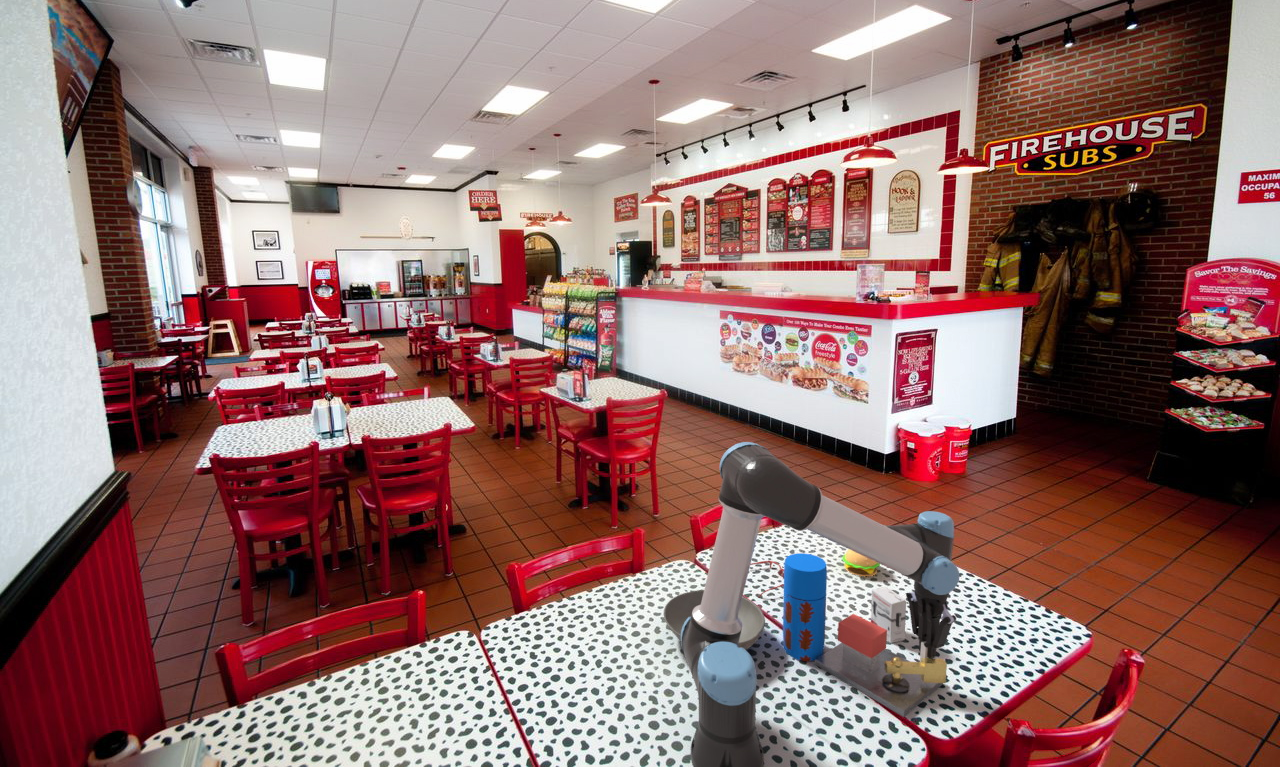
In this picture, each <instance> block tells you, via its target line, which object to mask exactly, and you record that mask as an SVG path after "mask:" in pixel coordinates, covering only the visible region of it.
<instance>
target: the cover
mask: <svg viewBox="0 0 1280 767" xmlns="http://www.w3.org/2000/svg"><path fill="white" fill-rule="evenodd" d="M837 641H838V642H840V643H843V644H845V645H847V646H849V647H851V648H853V649H855V650H856V651H858V652H860V653H862V654H864V655H866V656H868V657H870V658H873V657H874V656H876V655H877V654H879V653H880V652H882V651H883V650H885V649H887V642H888V641H887V630H886V629H884V628H882V627H880V626H878V625H876V624H873V623H871V621H869V620H867V619H865V618H864V617H861V616H859V615H857V614H854V613H852V614H850V615H848V616H847V617H845V618H844V619H842V620H840V621H839V622H838V625H837Z"/></svg>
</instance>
